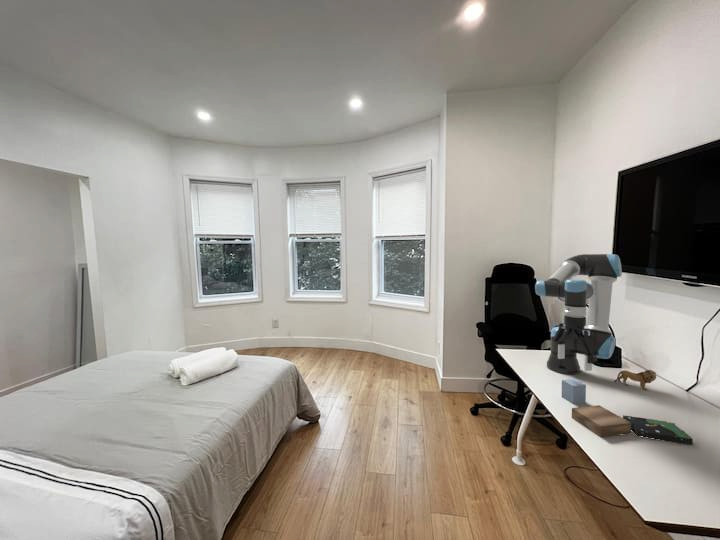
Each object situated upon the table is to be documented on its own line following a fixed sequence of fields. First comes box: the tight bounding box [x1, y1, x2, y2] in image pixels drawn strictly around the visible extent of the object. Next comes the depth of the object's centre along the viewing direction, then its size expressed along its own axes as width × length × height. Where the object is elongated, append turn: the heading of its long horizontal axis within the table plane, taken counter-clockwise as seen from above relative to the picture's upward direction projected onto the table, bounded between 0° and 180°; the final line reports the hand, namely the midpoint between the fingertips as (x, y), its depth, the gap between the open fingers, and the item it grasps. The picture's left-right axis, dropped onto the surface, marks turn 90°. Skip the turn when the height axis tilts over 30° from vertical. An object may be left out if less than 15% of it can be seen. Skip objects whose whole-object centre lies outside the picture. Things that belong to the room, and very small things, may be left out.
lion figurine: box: [613, 369, 657, 390], centre depth 137 cm, size 15×5×9 cm, turn 54°
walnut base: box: [571, 404, 632, 438], centre depth 107 cm, size 12×12×4 cm
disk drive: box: [622, 415, 694, 446], centre depth 103 cm, size 10×3×15 cm
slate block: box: [561, 378, 587, 405], centre depth 126 cm, size 6×6×8 cm
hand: (573, 364), depth 125 cm, fingers open, 13 cm apart
